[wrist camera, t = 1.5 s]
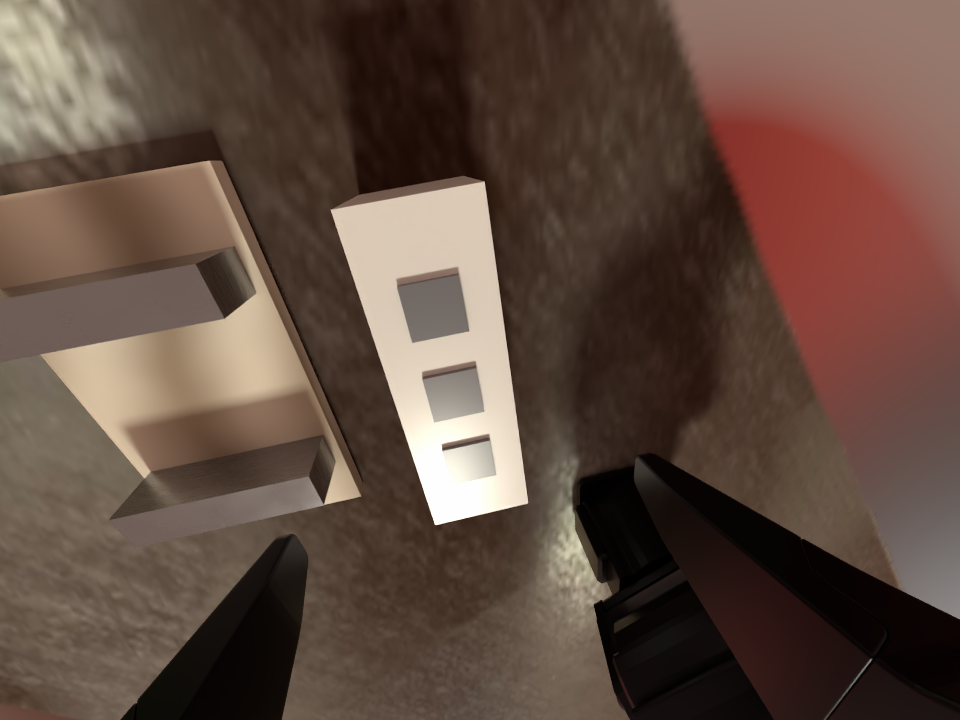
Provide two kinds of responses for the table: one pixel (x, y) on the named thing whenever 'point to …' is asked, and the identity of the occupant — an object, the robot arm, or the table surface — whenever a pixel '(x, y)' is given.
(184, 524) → the stand
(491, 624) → the table surface
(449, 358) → the power strip
